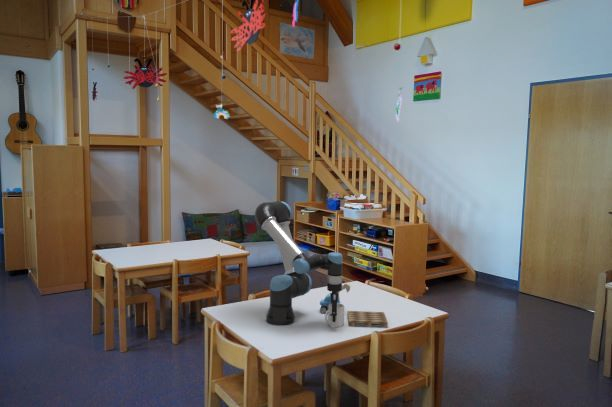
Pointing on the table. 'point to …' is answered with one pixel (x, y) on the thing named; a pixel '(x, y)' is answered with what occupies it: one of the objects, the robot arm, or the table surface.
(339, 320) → the cup
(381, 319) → the wooden pallet
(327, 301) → the toy excavator
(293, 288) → the robot arm
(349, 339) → the table surface
